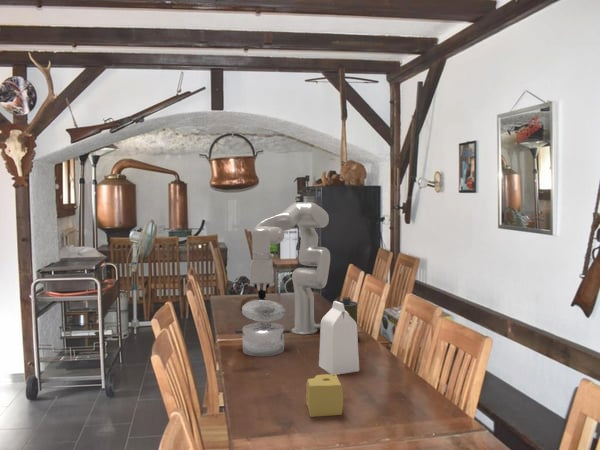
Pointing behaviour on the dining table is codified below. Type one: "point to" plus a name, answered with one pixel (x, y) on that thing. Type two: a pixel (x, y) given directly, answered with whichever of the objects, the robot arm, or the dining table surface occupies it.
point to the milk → (338, 341)
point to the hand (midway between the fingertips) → (262, 299)
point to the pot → (263, 339)
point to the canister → (350, 307)
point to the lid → (263, 310)
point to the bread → (249, 300)
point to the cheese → (324, 395)
